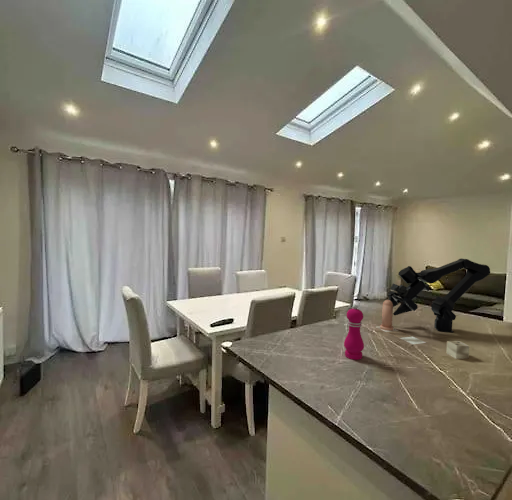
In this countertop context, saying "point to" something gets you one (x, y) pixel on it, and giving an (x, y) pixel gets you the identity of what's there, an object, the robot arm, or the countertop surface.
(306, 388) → the countertop surface
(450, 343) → the die
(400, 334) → the board
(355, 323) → the pepper mill
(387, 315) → the tan knob handle
